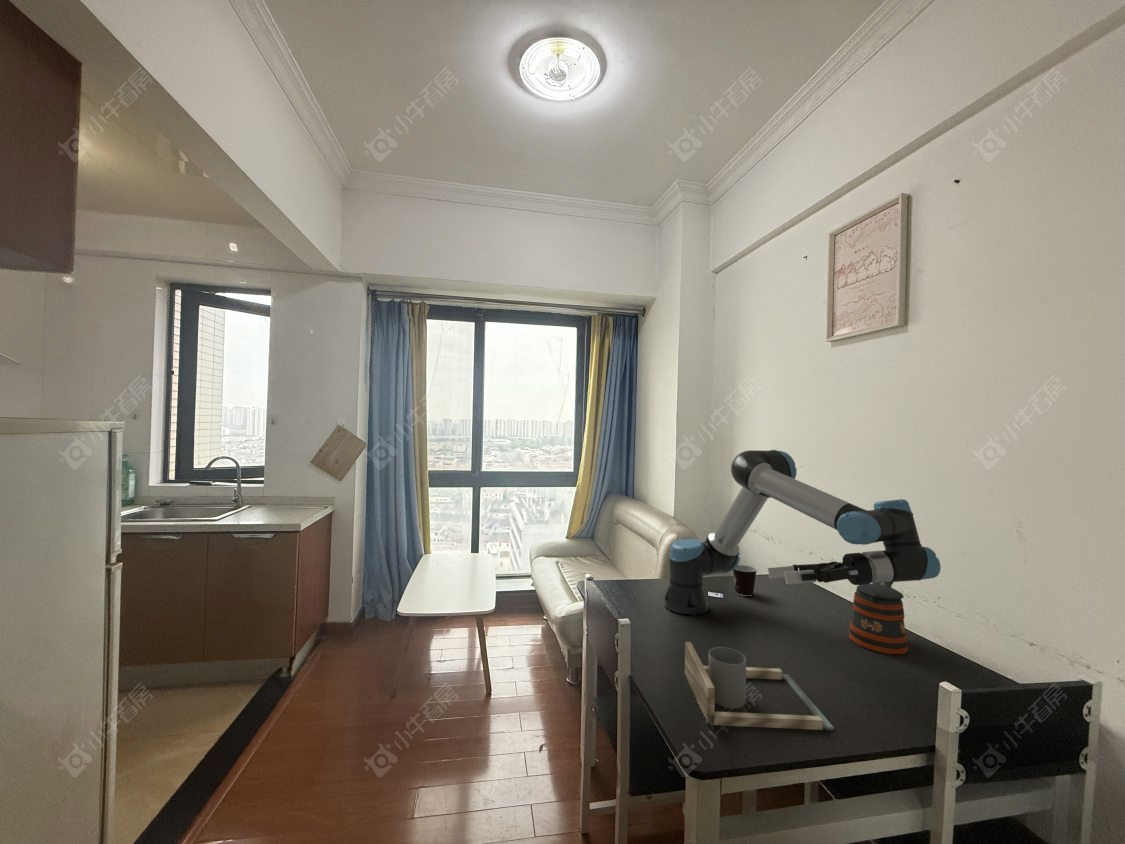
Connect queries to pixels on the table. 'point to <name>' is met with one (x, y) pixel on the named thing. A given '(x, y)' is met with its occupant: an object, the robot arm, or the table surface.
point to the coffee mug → (744, 579)
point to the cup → (728, 676)
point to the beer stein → (879, 619)
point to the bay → (706, 701)
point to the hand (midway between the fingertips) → (776, 575)
